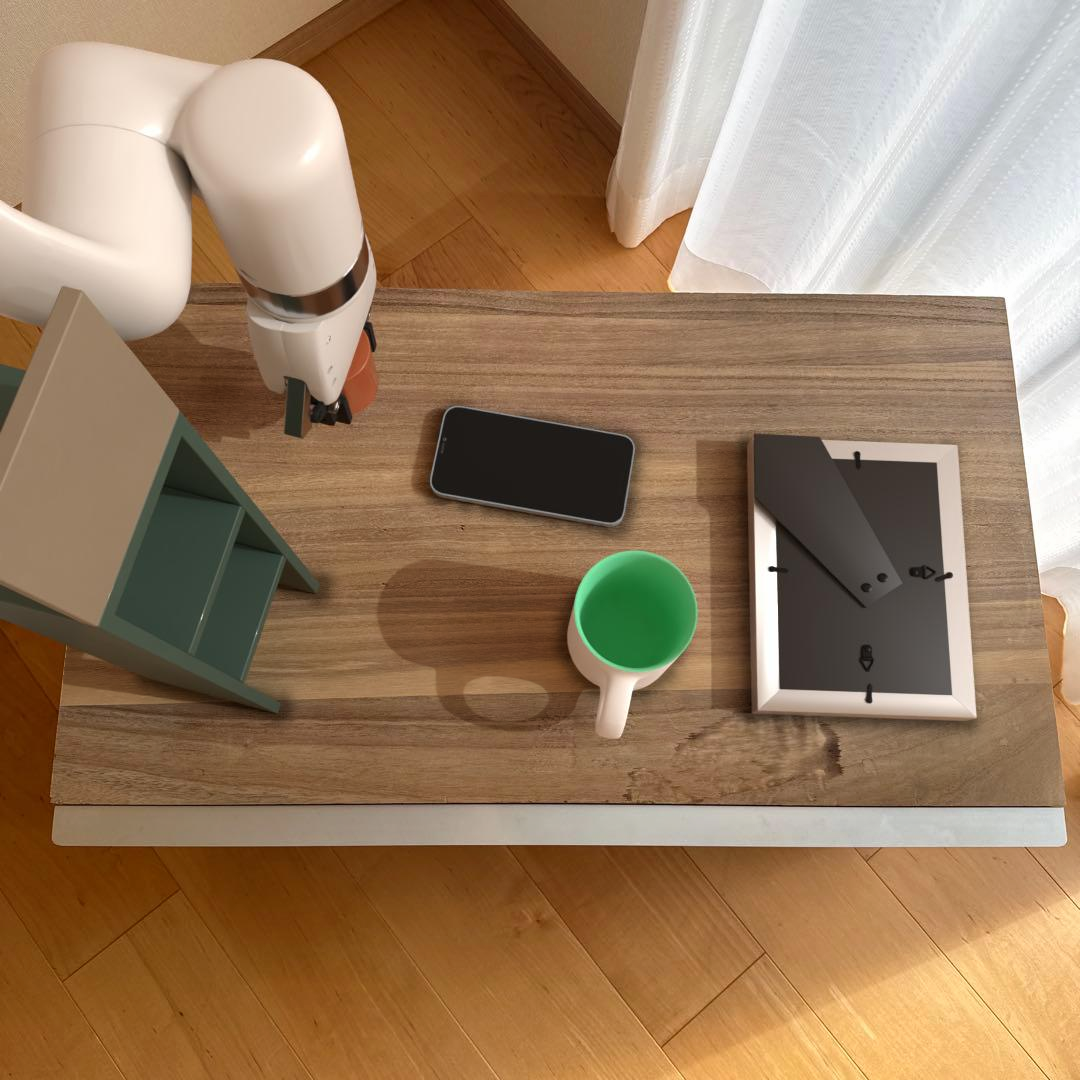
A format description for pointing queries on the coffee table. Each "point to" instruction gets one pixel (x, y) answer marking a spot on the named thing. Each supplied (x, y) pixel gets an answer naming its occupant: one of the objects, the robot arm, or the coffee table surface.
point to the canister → (361, 377)
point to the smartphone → (533, 466)
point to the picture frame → (858, 580)
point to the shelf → (128, 518)
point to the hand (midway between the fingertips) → (342, 379)
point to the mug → (629, 628)
